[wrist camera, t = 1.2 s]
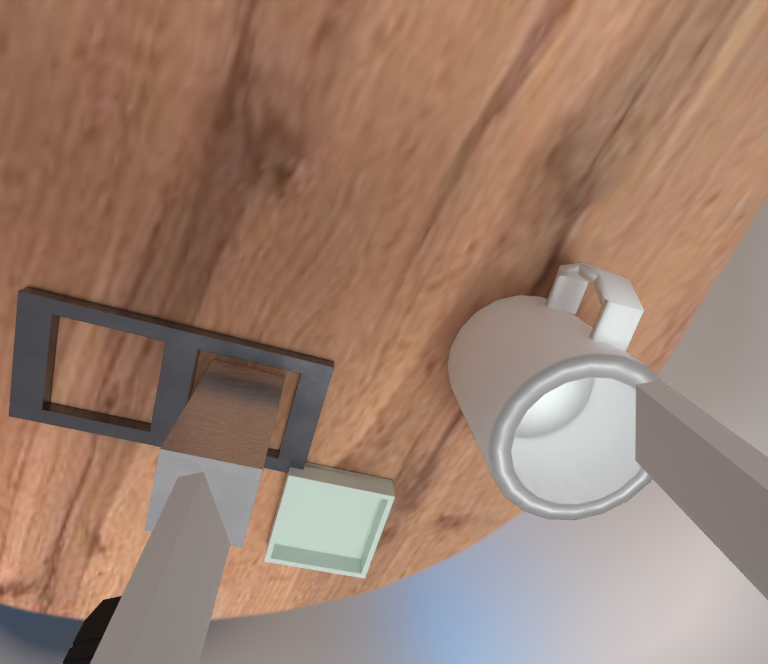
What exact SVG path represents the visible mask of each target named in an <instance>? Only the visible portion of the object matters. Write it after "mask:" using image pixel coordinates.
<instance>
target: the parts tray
mask: <svg viewBox="0 0 768 664" xmlns="http://www.w3.org/2000/svg"><path fill="white" fill-rule="evenodd" d="M394 498H395V494H394V487H393V481H392V480H389V479H384V478H379V477H375V476H370V475H365V474H360V473H355V472H350V471H346V470H341V469H336V468H331V467H326V466H322V465H317V464H312V463H307V462H306V463H305V466H304V469H303V470H302V469H297V468H292V467H290V469H289V472H288V473H287V476H286V479H285V483H284V486H283V490H282V493H281V497H280V501H279V504H278V508H277V511H276V515H275V518H274V522H273V525H272V529H271V532H270V536H269V539H268V543H267V548H266V554H265V559H264V561H265V562H270V563H276V564H282V565H288V566H294V567H300V568H306V569H312V570H318V571H323V572H329V573H335V574H341V575H347V576H353V577H359V578H365V576H366V574H367V571H368V568H369V566H370V563H371V560H372V558H373V555H374V552H375V549H376V547H377V544H378V541H379V539H380V536H381V533H382V531H383V528H384V525H385V522H386V520H387V517H388V514H389V512H390V509H391V506H392V504H393V501H394Z"/></svg>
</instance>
